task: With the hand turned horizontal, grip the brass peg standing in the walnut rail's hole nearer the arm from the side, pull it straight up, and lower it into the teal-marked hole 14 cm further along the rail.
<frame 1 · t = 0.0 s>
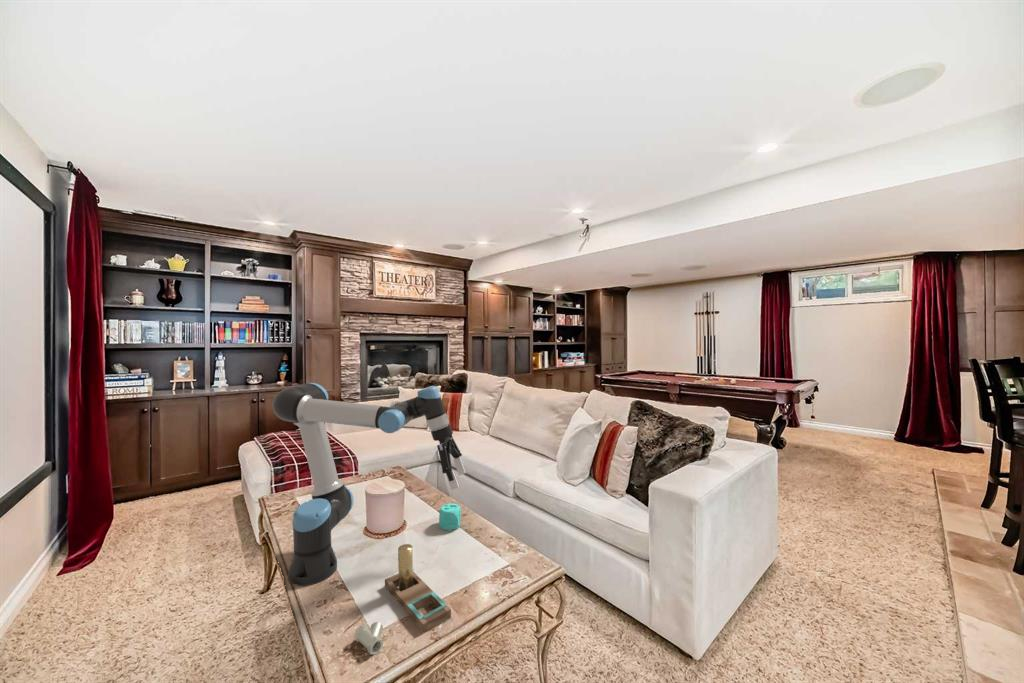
hand: (458, 480, 148), 28 cm above the table, tool tilted 20°, fingers open, 13 cm apart
walnut rail: (416, 601, 123), on the table
brass peg: (405, 589, 129), resting in walnut rail
pipe fitting: (374, 643, 108), on the table
decorative dice: (450, 526, 170), on the table
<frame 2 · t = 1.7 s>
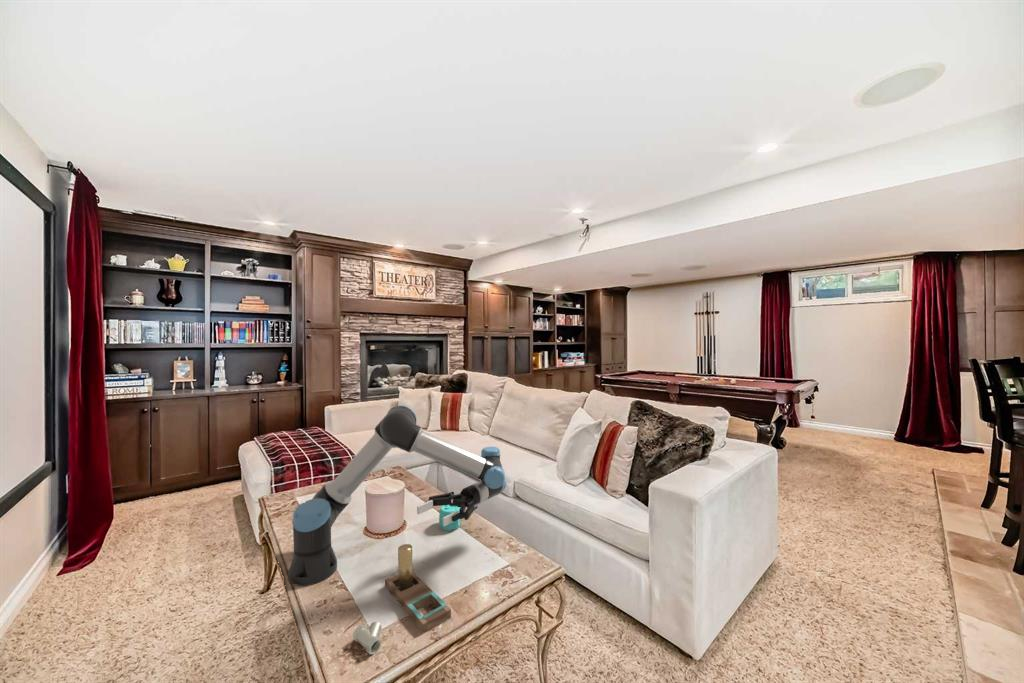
hand: (430, 516, 136), 20 cm above the table, tool horizontal, fingers open, 13 cm apart
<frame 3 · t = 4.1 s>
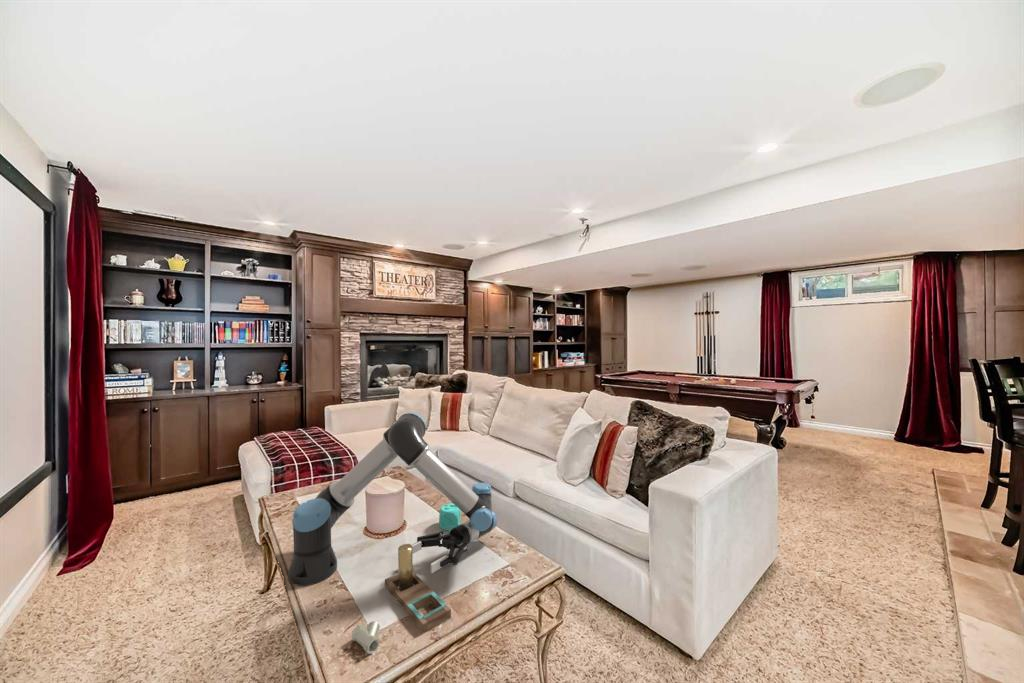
hand: (417, 560, 131), 8 cm above the table, tool horizontal, fingers open, 13 cm apart
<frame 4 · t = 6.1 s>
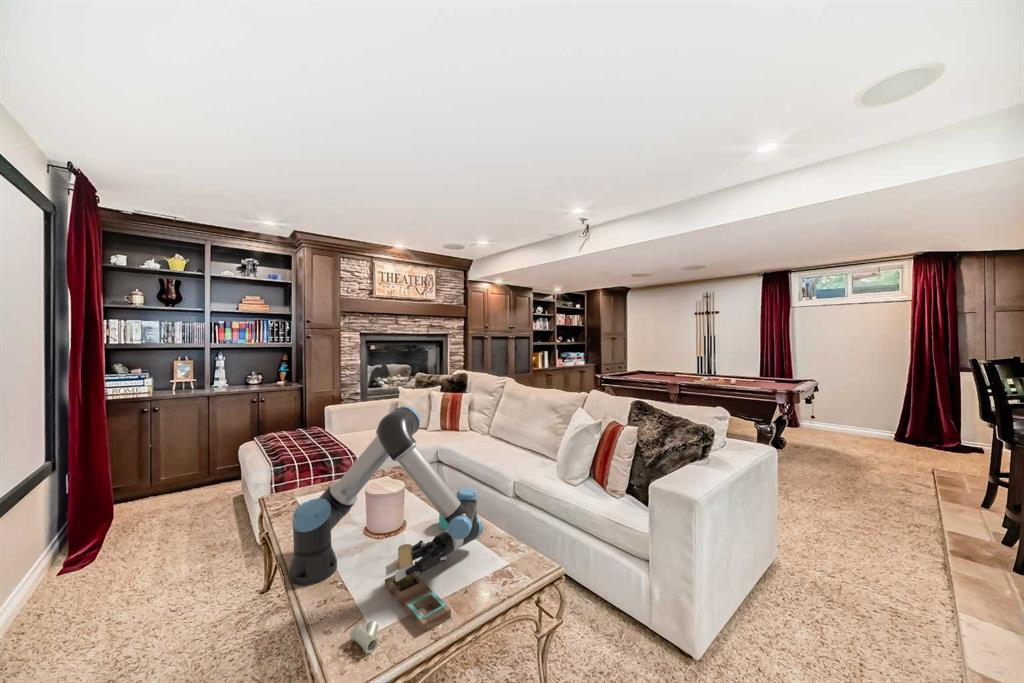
hand: (391, 573, 124), 8 cm above the table, tool horizontal, fingers closed on brass peg, 4 cm apart
brass peg: (405, 589, 129), resting in walnut rail, touching gripper
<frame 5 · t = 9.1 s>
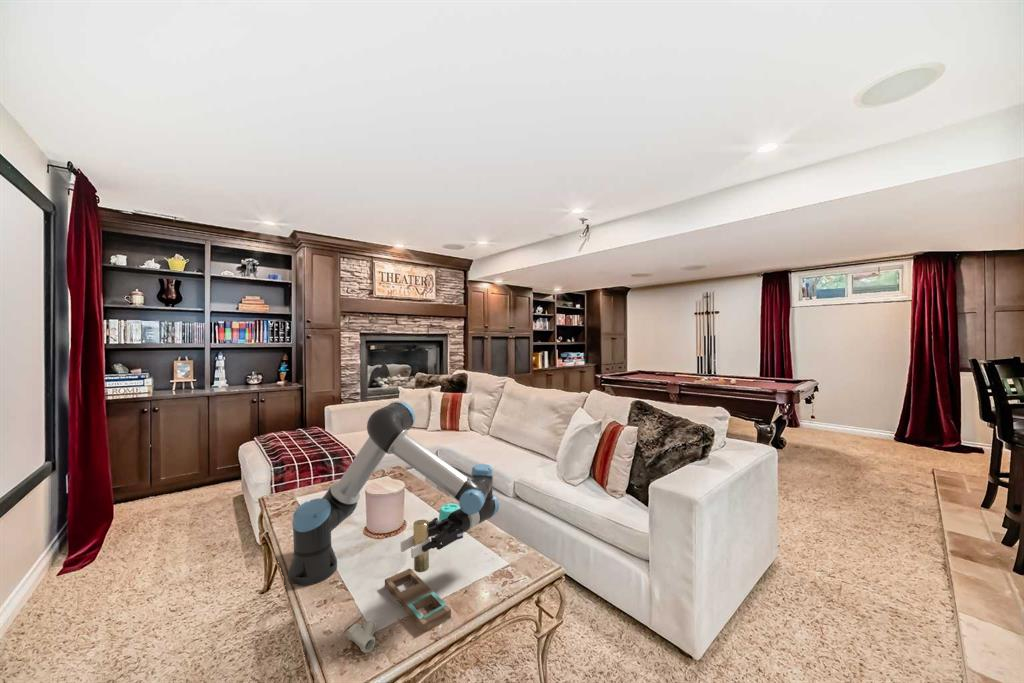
hand: (406, 550, 117), 19 cm above the table, tool horizontal, fingers closed on brass peg, 4 cm apart
brass peg: (421, 567, 122), point 11 cm above the table, touching gripper
when the fingers open (9 cm above the table, at t = 12.0 s): brass peg drops 1 cm, resting in walnut rail.
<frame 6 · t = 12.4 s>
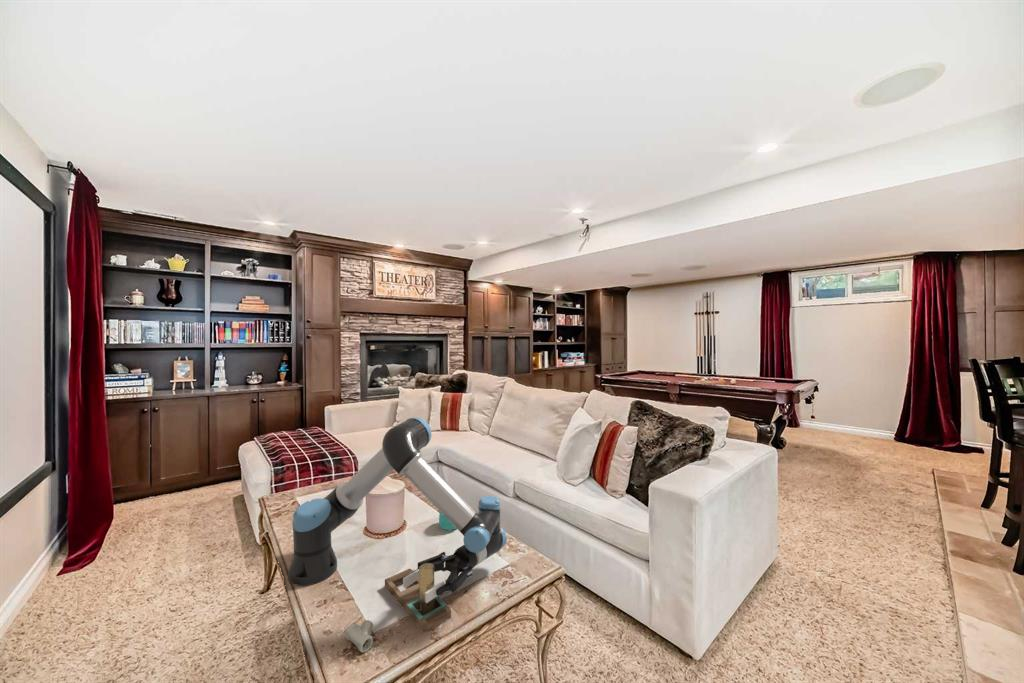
hand: (414, 590, 114), 9 cm above the table, tool horizontal, fingers open, 9 cm apart
brass peg: (427, 613, 118), resting in walnut rail
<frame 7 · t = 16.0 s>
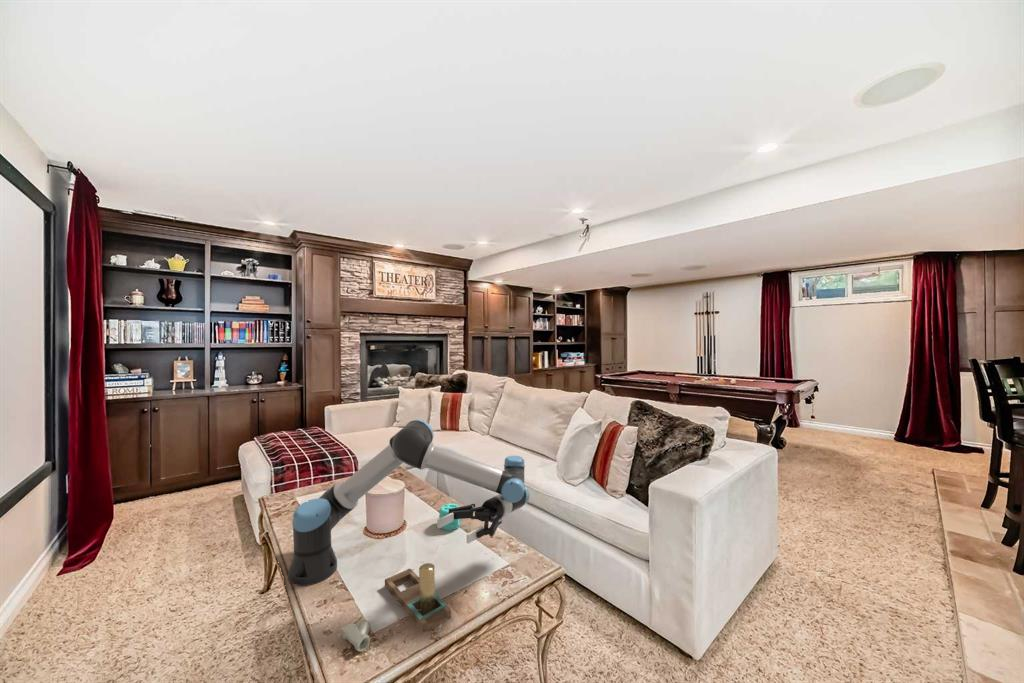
hand: (452, 531, 125), 21 cm above the table, tool horizontal, fingers open, 13 cm apart
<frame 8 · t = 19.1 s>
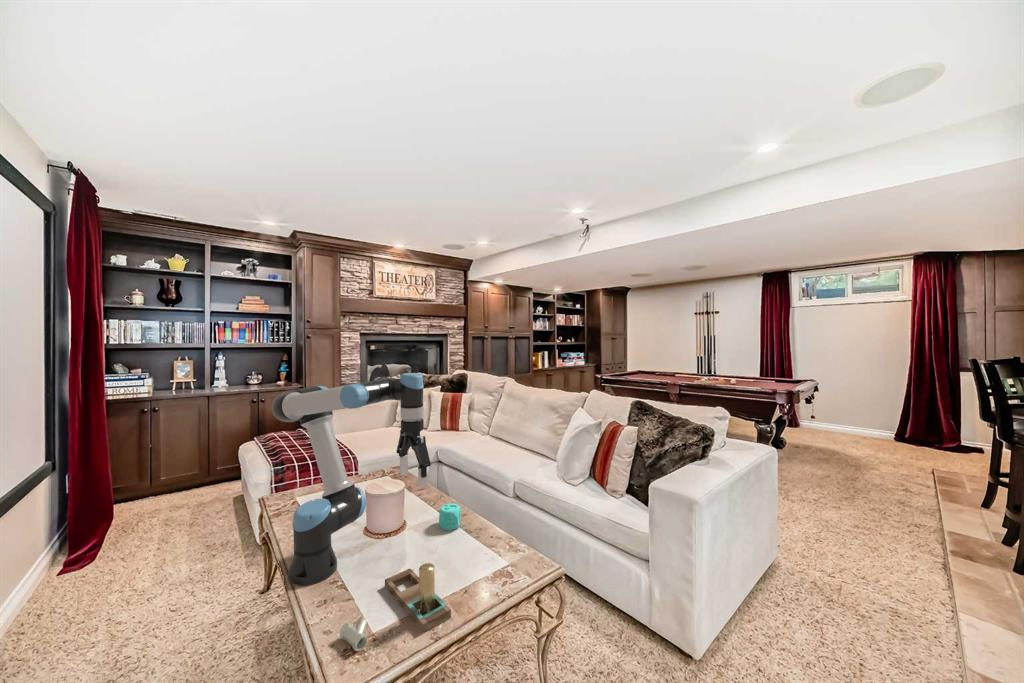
hand: (413, 480, 136), 33 cm above the table, tool pointing down, fingers open, 13 cm apart
at the end: brass peg 0.1 cm from the target spot on the walnut rail, point 0.0 cm above the walnut rail's base; brass peg tilted 0°; the gripper is holding nothing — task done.
